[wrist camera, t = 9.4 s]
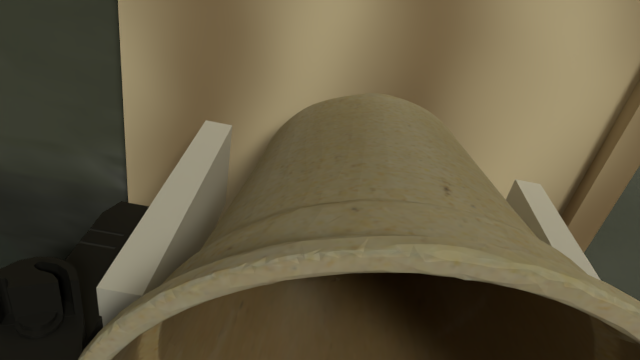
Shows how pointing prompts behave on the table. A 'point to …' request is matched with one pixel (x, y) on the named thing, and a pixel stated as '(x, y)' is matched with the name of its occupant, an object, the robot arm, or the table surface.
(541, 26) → the board
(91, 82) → the table surface
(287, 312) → the flower pot
